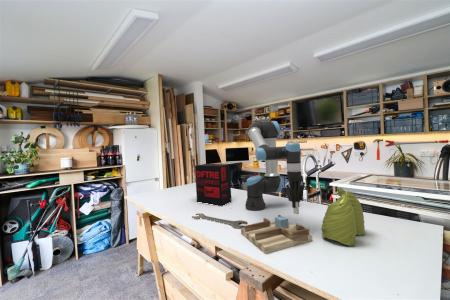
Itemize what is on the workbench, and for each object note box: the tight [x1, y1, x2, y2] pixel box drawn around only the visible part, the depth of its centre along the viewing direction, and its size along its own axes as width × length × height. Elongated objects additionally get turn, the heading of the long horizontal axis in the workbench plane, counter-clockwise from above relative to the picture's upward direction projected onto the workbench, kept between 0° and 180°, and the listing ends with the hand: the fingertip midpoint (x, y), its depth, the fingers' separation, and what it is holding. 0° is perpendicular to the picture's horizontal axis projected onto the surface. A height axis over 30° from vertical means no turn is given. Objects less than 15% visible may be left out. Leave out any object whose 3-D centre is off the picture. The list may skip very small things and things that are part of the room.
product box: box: [194, 163, 232, 207], centre depth 184 cm, size 26×14×32 cm, turn 54°
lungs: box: [320, 187, 366, 247], centre depth 109 cm, size 25×16×24 cm, turn 132°
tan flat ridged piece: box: [240, 214, 313, 254], centre depth 112 cm, size 24×27×6 cm
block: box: [274, 215, 289, 229], centre depth 117 cm, size 5×5×5 cm
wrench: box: [191, 212, 248, 230], centre depth 139 cm, size 42×10×2 cm, turn 55°
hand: (296, 213), depth 119 cm, fingers closed
